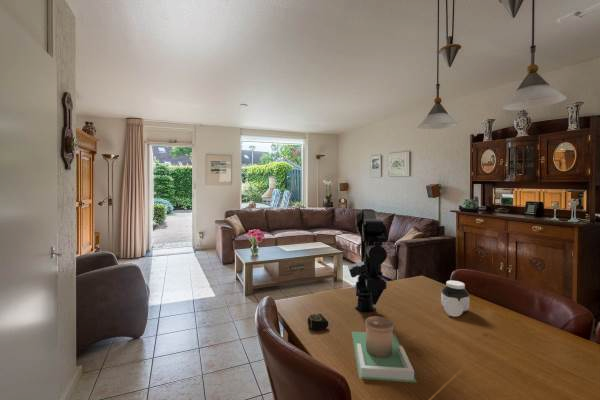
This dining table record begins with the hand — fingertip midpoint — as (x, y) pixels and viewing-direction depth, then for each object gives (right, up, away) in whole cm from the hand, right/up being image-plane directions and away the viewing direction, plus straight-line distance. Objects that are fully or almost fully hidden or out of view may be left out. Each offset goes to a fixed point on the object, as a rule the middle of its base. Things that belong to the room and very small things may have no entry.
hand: (372, 299), depth 102 cm
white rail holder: (-1, -13, -18) cm, 22 cm away
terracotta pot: (-1, -12, -11) cm, 16 cm away
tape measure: (-19, -12, +5) cm, 23 cm away
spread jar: (+39, -12, +18) cm, 44 cm away
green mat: (-1, -13, -13) cm, 18 cm away
